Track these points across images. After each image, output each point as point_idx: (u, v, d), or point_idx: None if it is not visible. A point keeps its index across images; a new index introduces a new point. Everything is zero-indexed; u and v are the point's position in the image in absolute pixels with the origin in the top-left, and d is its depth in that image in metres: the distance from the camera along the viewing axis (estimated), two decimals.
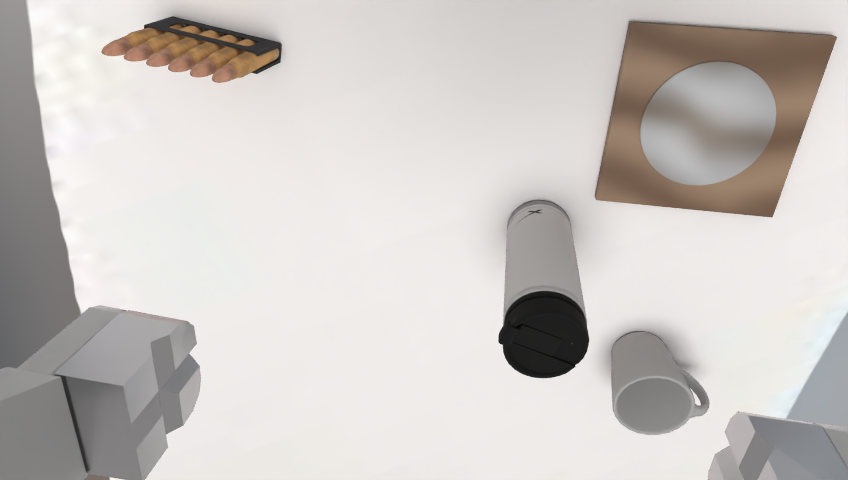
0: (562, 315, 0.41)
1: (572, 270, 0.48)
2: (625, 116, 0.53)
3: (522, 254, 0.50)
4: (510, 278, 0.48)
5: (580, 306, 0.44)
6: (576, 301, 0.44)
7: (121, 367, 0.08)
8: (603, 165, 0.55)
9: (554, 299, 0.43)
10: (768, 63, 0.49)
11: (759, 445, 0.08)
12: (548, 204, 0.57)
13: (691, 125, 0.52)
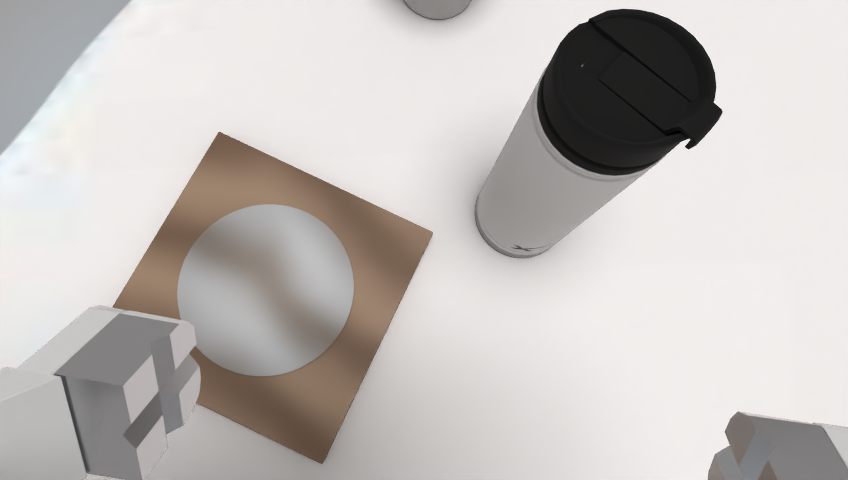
0: (590, 129, 0.22)
1: (517, 171, 0.29)
2: (363, 338, 0.38)
3: (581, 216, 0.31)
4: None
5: (539, 123, 0.25)
6: (543, 134, 0.25)
7: (121, 367, 0.08)
8: (409, 278, 0.39)
9: (585, 155, 0.23)
10: None
11: (759, 445, 0.08)
12: (497, 247, 0.40)
13: (284, 296, 0.38)
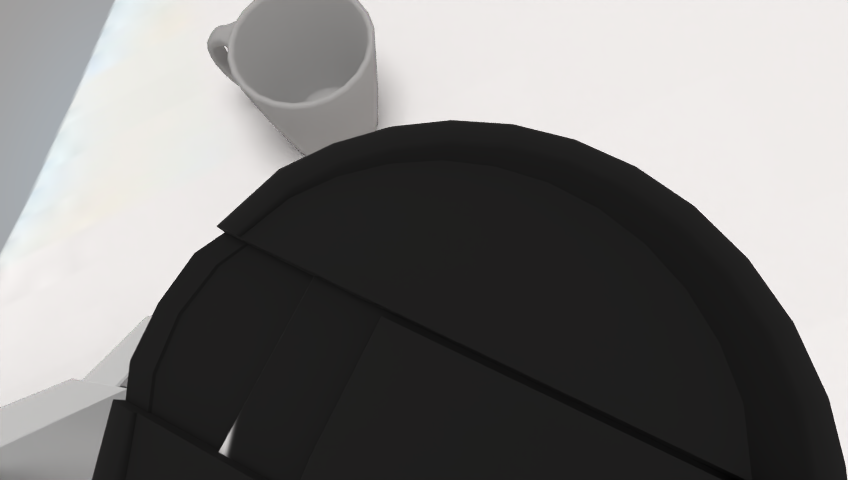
0: None
1: None
2: None
3: None
4: None
5: None
6: None
7: None
8: None
9: None
10: None
11: None
12: None
13: None
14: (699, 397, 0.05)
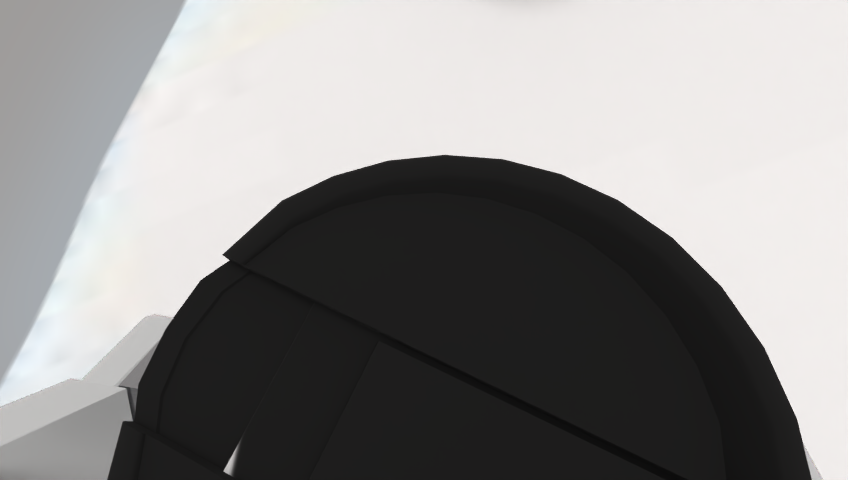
0: None
1: None
2: None
3: None
4: None
5: None
6: None
7: None
8: None
9: None
10: None
11: None
12: None
13: None
14: (678, 418, 0.05)
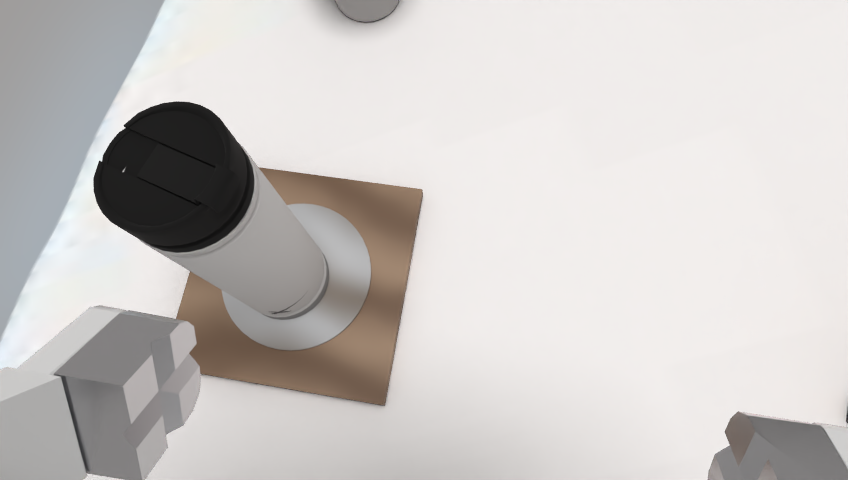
0: (125, 226, 0.24)
1: None
2: (388, 291, 0.43)
3: (261, 277, 0.32)
4: (267, 248, 0.30)
5: None
6: None
7: (121, 367, 0.08)
8: (413, 232, 0.44)
9: (155, 244, 0.25)
10: (231, 343, 0.42)
11: (759, 445, 0.08)
12: (267, 316, 0.41)
13: None
14: (217, 155, 0.25)
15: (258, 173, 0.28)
